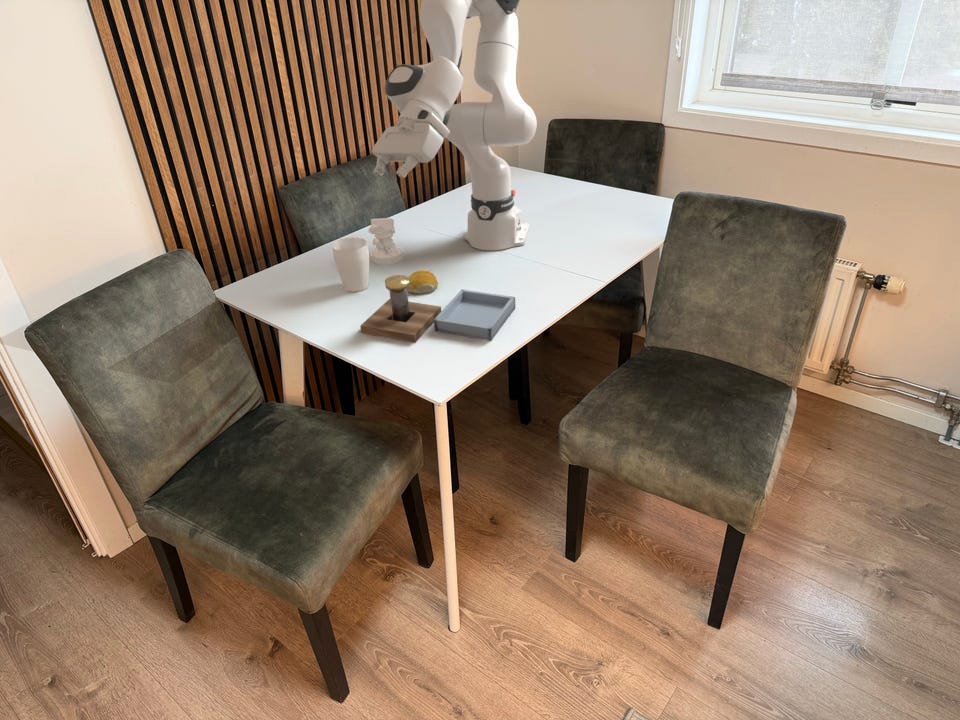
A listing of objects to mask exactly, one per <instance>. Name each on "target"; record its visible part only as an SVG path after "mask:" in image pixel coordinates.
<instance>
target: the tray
mask: <svg viewBox="0 0 960 720" xmlns="http://www.w3.org/2000/svg"><path fill="white" fill-rule="evenodd" d="M515 309H516V296H510V295H504V294H496V293H489V292H483V291H482V292H481V291H475V290H469V289H461V290H460V291H458V293H457V294H456V295H455V296H454V297H453V298H452V299H451V300H450V301H449V302H448V303H447V304H446V306H444V308H443V309H441V312H440V314H439V315H438V316H437V317H436V318H435V319H434V323H433V324H434V325H433V326H434V332H436V333H437V332H439V333H444V334H450V335H455V336H456V335H457V336H462V337H468V338H474V339H479V340H486V341H492V340H493V339H494V338H495V336H496V335H497V334H498V333H499V331H500V330H501V328H503V326H504V325H505V323H506V321H507V320H508V319H509V317H510V316H511V315H512V313H514V311H515Z"/></svg>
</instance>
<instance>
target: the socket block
mask: <svg viewBox="0 0 960 720" xmlns="http://www.w3.org/2000/svg"><path fill="white" fill-rule="evenodd" d="M408 303H409V311H410V319H409V320H408V321H407V322H400V321H394V320H393V314H392V306H391V299H390V298H389V299H387V301H385V302H384V303H383V304H382V305H381V306H380V307H379V308H378V309H377V310H376V311H375V312H373V314H371V316H369V317H368V318H367V319H366V320H365V321H364V322H363V323H361V324H360V333H361V334H363V335H365V334H366V335H371V336H374V337H375V336H377V337H381V338H388V339H391V340H392V339H393V340H398V341H404V342H409V343H417V341H418V340H419V339H420V338H421V337H422V336H423V335H424V334H425V333H426V332H427V331H428V330H429V328H431V326H432V325H433V324H434V319H435V318H436V317H437V316H438V315H439V314H440V312H441V311H442V306H440V305H433V304H428V303H427V304H426V303H419V302H413V301H408Z"/></svg>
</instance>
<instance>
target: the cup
mask: <svg viewBox="0 0 960 720" xmlns="http://www.w3.org/2000/svg"><path fill="white" fill-rule="evenodd" d="M331 247H332V255H333V260H334V263H335V265H336V270H337V272H338V275H339V277H340V280H341V281H340V282H341V284H342V286H343V290H345V291H347V292H351V293H353V292H354V293H356V292H362V291H364V290H366V289H367V288H368V287H370V251H369V248H368V241H367V240H366V239H365V238H363V237H355V236H353V237H345V238H340V239H338V240H336V241H335V242H333V244H332V246H331Z"/></svg>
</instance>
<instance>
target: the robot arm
mask: <svg viewBox="0 0 960 720" xmlns="http://www.w3.org/2000/svg"><path fill="white" fill-rule="evenodd" d="M519 3H520V0H422V1H421V4H420V9H419V23H420V26H421V29H422V32H423V33H424V34H423V35H424V36H425V38H426V41H427V43H428V45H429V49H430V52H431V55H432V58H433V60H432V61H430V62H428V63H424V64H419V65H413V64H409V63H406V64H405V63H404V64H399V65H397V66H395V67H394V68H393V69H392V70H391V72H390V73H389V75H387V79H386V81H385V83H384V92H385V95H386V96H387V98H388V99H389V100H390V102H391V103H392V104H393V106H394V107H395V108H396V110H397V111H398V112H399V114H400V115H399V116H398V118H397V121H398V122H397V123H396V124H394V126H389V127H387V128H386V129H385V130H384V131H383V132H382V133H381V135H380V136H379V138H378V139H377V141H376V143H374V145H373V147H372V151H371V152H372V154H373V156H375V157H376V159H377V160H376V166H375V167H374V170H373V174H375V176H377V177H380V176H381V177H382V176H383V175H384V174H385V172H386V169H385V167H386V165H388V164H389V162H390V163H391V162H393V163H395V162H396V163H403V164H402V165H401V166H399V167H398V168H397V170H396V175H397V176H398V177H399V178H406V177H407V175H408V174H409V172H410V171H411V170H413V169H414V168H415V167H416V166H417V165H418V163H424V164H425V163H427V164H428V163H430V162H431V161H432V160H433V159H434V158H435V156H436V155H437V153H438V152H439V150H440V148H441V146H442V145H443V143H444V139H447V140H448V141H449V142H451V143H452V144H453V145H454V146H455V147H457V149H458V150H459V151H460V153H461V155H462V156H463V157H464V159H465V161H466V163H467V166H468V169H469V172H470V173H469V174H470V180H471V181H470V182H471V192H472V193H471V195H470V208H471V209H470V210H469V211H468V212H467V232H466V233H465V234H464V235H463V240H465V241H467V242H468V243H469V245H470V246H471V247H473V248H474V249H479V250H482V251H500V250H501V251H503V250H507V249H510V248H513V247H520V246H524V245H525V244H526V240H527V237H528V235H529V232H528V231H530V228H531V226H530V223H528V222H525V221H523V211H522V210H521V209H520V208H519V207H518V206H516V205H515V198H514V197H516V195H517V194H516V190H517V189H512V173H511V167H510V165H509V164H508V162H507V161H506V160H504V159H503V158H502V157H499V156H498V155H497V154H495V152H494V151H493V150H492V148H491V147H516V146H522V145H527V144H529V143H530V142H531V141H532V140H533V138H534V136H535V134H536V131H537V127H538V120H537V116H536V114H535V112H534V110H533V108H532V107H531V106H530V105H528V103H526V102H525V101H524V99H523V97H522V96H521V95H520V92H519V90H518V87H517V63H518V53H519V35H520V33H519V20H518V17H517V15H516V13H515V12H516V11H517V9H518V8H519ZM472 17H479V22H480V28H479V33H478V37H477V44H476V49H475V50H476V51H475V60H474V61H475V62H474V71H473V77H474V78H473V79H474V80H475V83H476V84H477V86H479V87H480V88H481V89H482V90H484V91H485V92H487V93H489V94H491V95H492V99H491V101H489V102H487V101H486V102H485V101H484V102H483V101H482V102H481V101H479V102H478V101H476V102H474V101H473V102H472V101H464V102H459V103H455V102H456V100H457V98H458V97H459V94H460V92H461V91H462V87H463V83H464V75H463V73H462V71H461V70H460V67H461V62H462V58H463V57H462V56H463V37H464V36H463V34H464V29H465V25H466V24H465V23H466V20H467V19H471V18H472ZM527 234H528V235H527Z"/></svg>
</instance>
